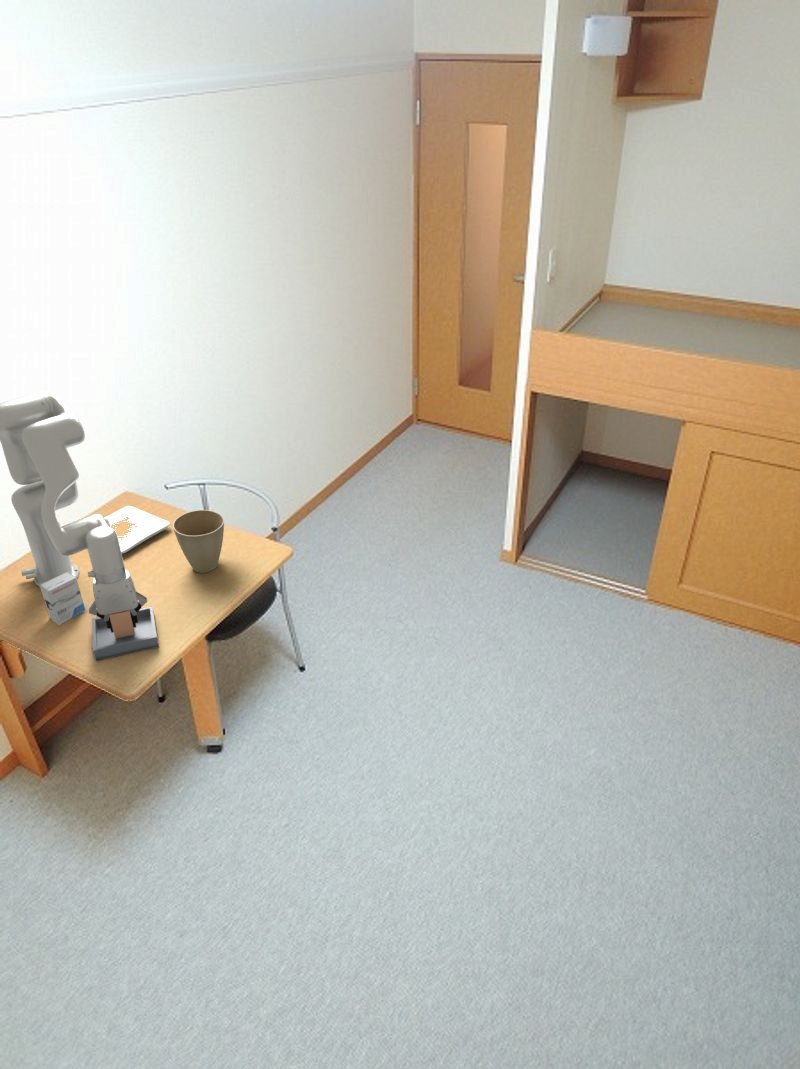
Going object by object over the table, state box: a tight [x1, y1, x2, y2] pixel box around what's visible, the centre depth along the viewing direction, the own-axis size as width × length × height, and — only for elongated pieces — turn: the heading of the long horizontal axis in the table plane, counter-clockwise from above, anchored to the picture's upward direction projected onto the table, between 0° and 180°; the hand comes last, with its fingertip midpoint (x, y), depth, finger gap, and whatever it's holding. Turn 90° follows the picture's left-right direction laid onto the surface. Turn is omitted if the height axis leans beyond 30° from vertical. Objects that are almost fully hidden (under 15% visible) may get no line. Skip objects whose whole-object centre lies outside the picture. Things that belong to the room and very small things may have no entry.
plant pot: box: [172, 509, 225, 573], centre depth 228 cm, size 15×15×16 cm
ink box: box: [39, 572, 86, 625], centre depth 209 cm, size 8×5×12 cm, turn 141°
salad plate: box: [105, 505, 171, 554], centre depth 247 cm, size 21×21×3 cm
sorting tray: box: [91, 605, 160, 661], centre depth 203 cm, size 16×14×4 cm
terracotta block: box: [109, 610, 135, 639], centre depth 201 cm, size 5×5×8 cm
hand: (123, 626), depth 202 cm, fingers closed on terracotta block, 5 cm apart
